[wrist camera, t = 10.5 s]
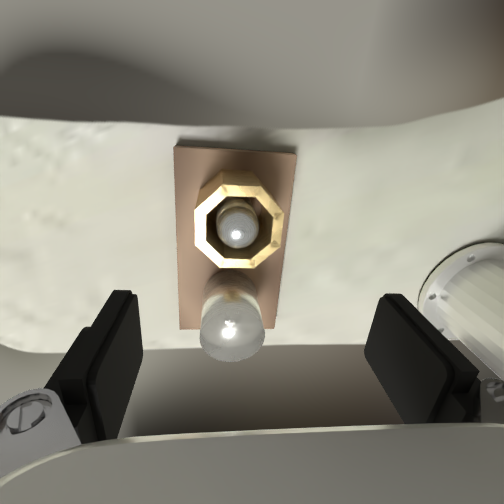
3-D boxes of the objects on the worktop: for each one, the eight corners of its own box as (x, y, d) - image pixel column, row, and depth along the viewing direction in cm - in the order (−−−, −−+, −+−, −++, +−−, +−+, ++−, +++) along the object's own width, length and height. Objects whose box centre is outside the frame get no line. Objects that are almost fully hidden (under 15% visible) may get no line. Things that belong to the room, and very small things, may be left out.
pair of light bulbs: (265, 189, 26) (280, 214, 19) (253, 314, 31) (262, 365, 25) (204, 186, 25) (199, 211, 19) (203, 314, 30) (199, 367, 24)
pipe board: (292, 152, 26) (296, 155, 25) (271, 319, 33) (274, 328, 32) (175, 145, 25) (173, 146, 23) (181, 320, 32) (179, 329, 31)
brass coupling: (272, 171, 25) (287, 187, 20) (266, 238, 27) (277, 269, 22) (199, 167, 24) (194, 182, 19) (199, 236, 27) (194, 267, 21)
